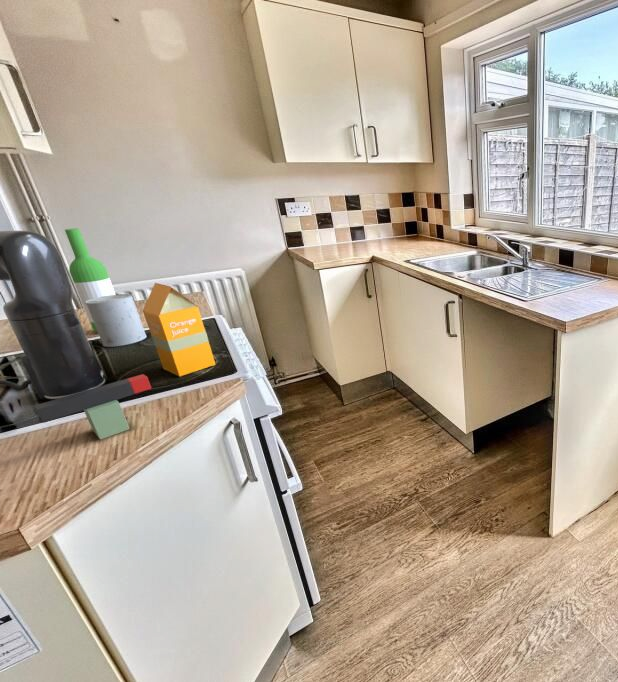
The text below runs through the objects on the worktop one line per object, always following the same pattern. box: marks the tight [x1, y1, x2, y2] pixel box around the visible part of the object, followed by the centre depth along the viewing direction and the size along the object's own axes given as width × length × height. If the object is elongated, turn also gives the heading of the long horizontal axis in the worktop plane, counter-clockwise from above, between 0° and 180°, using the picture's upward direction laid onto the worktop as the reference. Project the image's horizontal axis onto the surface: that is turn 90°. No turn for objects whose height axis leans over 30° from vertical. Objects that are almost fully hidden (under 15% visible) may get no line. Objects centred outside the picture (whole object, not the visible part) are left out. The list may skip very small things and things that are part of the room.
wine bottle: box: [64, 228, 117, 333], centre depth 124 cm, size 8×8×30 cm
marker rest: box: [83, 399, 131, 440], centre depth 74 cm, size 4×5×6 cm
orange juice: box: [142, 282, 216, 377], centre depth 97 cm, size 8×9×20 cm
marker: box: [34, 373, 152, 424], centre depth 72 cm, size 14×2×2 cm, turn 144°
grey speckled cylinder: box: [85, 293, 147, 348], centre depth 117 cm, size 10×10×12 cm
